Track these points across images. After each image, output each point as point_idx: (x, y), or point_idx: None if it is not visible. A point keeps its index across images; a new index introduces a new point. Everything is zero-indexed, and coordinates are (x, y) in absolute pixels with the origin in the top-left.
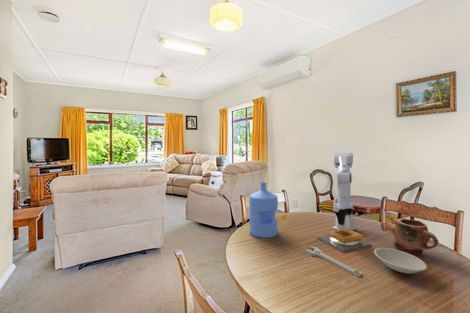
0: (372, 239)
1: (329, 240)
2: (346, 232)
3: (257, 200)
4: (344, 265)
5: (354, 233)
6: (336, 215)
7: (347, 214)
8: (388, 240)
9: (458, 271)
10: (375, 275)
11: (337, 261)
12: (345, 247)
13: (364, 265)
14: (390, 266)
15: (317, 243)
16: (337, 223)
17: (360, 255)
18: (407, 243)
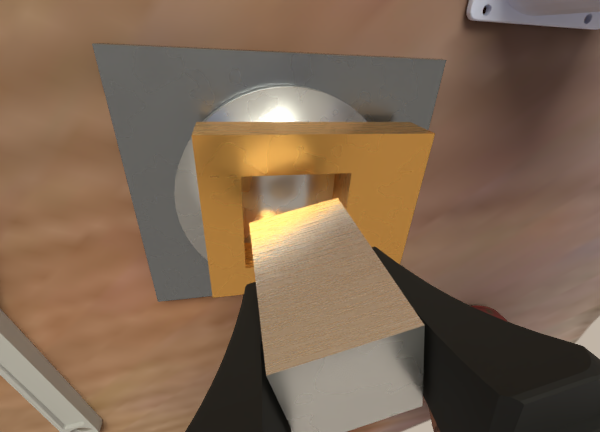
0: (481, 210)
1: (170, 157)
2: (345, 202)
3: None
4: (57, 399)
5: (373, 245)
6: (206, 400)
7: (416, 393)
8: (525, 243)
9: (416, 419)
10: (158, 427)
11: (37, 375)
12: (205, 278)
13: (174, 384)
14: None
15: (40, 129)
16: (253, 259)
17: (233, 327)
18: (430, 414)
